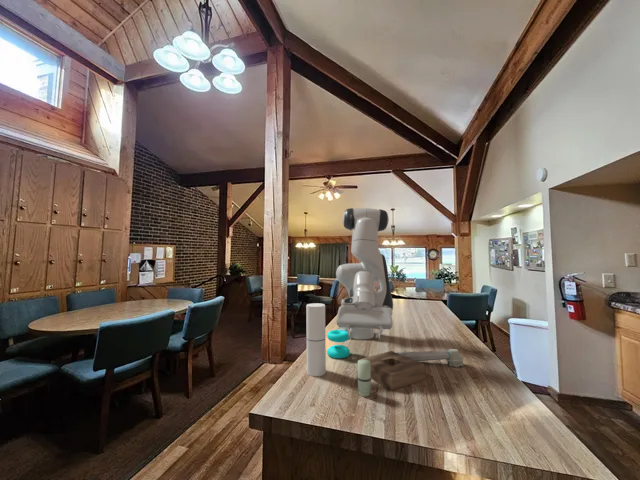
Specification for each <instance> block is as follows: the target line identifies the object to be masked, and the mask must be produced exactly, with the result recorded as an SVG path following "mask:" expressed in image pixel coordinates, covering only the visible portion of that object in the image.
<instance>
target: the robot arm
mask: <svg viewBox="0 0 640 480" xmlns="http://www.w3.org/2000/svg"><path fill="white" fill-rule="evenodd" d="M341 218H342V224H343V227H344V228H345V229H346V230H350V231H352V235H351V246H350V252H351V254H352V256H353V257H355V258H357V260H359V261H360V262H359V263H358V262H356V263H344V264H340V265H338V267H337V269H336V272H335V276H336V279H337V280H338V282H339V283H341V285H343V286H344V288H346V292H347V293H348V297H347V298H346V297H345V298H343V299H341V303H340V304H341V306H339V307H338V310H337V315H336V325H337V326H338V327H339V328H340V329H339V328H337V329H338V330H344V331H347V332H348V334H349V338H355V339H354V340H370V339H373V338H374V337H375V340H378V341H379V340H381V335H382V333H383V331H384V330H391V329H392V328H393V323H394V322H393V318H392V317H393V309H394V300H393V297H392V291H391V285H390V277H389V271H388V265H387V260H386V257H385V255H384V254H382V253H381V251H380V249H379V232H382V231H385V230H386V229H387V227H388V226H389V218H390V217H389V214H388V212H387V210H384V209H377V208H371V207H364V208H363V207H362V208H360V207H359V208H352V207H351V208H346V209H345V210H344V212H343V214H342V217H341ZM378 282H379V288H380V290H378V291H377V290H376V284H375V283H378ZM374 330H378V332H375V331H374Z"/></svg>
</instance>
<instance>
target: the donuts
mask: <svg viewBox="0 0 640 480" xmlns="http://www.w3.org/2000/svg"><path fill="white" fill-rule="evenodd" d="M326 337H327V338H326V339H328V340H329V341H330V342H334V343H344V342H347V341H348V340H349V334H348V332H347V331H344V330H337V329H332V330H329V331H328V332H327V334H326ZM326 350H327V351H326V353H327V355H328V356H329V357H330V358H333V359H345V358H348V357H349V356H350V355H351V351H350V349H349V348H348V346H346V345H344V344H333V345H331V346H329V347H328V348H327V349H326Z"/></svg>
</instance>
